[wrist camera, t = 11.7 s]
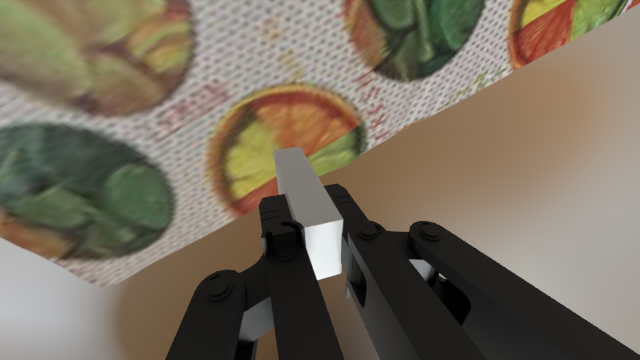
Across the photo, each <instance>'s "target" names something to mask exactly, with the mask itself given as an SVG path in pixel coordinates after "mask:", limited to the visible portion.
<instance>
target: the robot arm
mask: <svg viewBox="0 0 640 360" xmlns="http://www.w3.org/2000/svg"><path fill="white" fill-rule="evenodd" d="M273 154H274V161H275V169H276V176H277V184H278V191H279V195H276V196H270V197H265V198H262V200H261V202H260V204H259V211H260V218H261V226H262V236H261V240H262V245H263V250H264V252H263V255H262V257H261V258H260V260H259V261H258V262H257V263H256V264H254V265H253V266H251V267H250V268H248V269H246V270H245V271H243V272H241V273H238V272H236V271H235V270H222V271H217V272H215V273H213V274H211V275H209V276H208V277H206V278H205V279H204V280H203V281H202V282H201V283H200V284H199V286H198V287H197V289H196V290H195V292H194V294H193V297H192V299H191V302H190V304H189V306H188V308H187V310H186V313H185V315H184V317H183V320H182V322H181V324H180V327H179V329H178V331H177V334H176V336H175V338H174V341H173V343H172V345H171V348H170V350H169V352H168V354H167V357H166V359H165V360H255V358H256V351H257V345H258V338H259V337H260V336H262V335H263V334H264V333H266V332H267V331H269V330H270V329H271V328H273V327H275V334H276V342H277V349H278V356H279V360H344V357H343V354H342V351H341V349H340V346H339V343H338V340H337V337H336V334H335V331H334V328H333V325H332V322H331V319H330V316H329V313H328V310H327V308H326V304H325V302H324V299H323V296H322V293H321V290H320V287H319V284H318V281H317V280H319V279H322V278H326V277H330V276H333V275H337V274H341V268H342V265H343V268H344V270H345V272H346V288H345V294H346V298H349V292H350V293H351V296H352V298H353V300H354V302H355V305H356V307H357V309H358V311H359V313H360V316H361V318H362V320H363V322H364V324H365V327H366V329H367V331H368V333H369V336H370V338H371V340H372V342H373V345H374V347H375V349H376V351H377V354H378V356H379V358H380V360H640V355H639V354H637V353H636V352H634V351H633V350H631V349H630V348H628V347H627V346H625V345H623V344H622V343H620V342H619V341H617V340H616V339H614V338H613V337H611V336H610V335H608V334H607V333H605V332H603V331H602V330H600V329H599V328H597V327H596V326H594V325H593V324H591V323H589V322H588V321H587V320H585V319H583V318H582V317H580V316H579V315H577V314H576V313H574V312H573V311H571V310H570V309H568V308H567V307H565V306H563V305H562V304H560V303H559V302H557V301H556V300H554V299H553V298H551V297H550V296H548V295H546V294H545V293H543V292H542V291H540V290H539V289H537V288H535V287H534V286H533V285H531V284H530V283H528V282H526V281H525V280H523V279H522V278H520V277H519V276H517V275H516V274H514V273H513V272H511V271H510V270H508V269H507V268H505V267H503V266H502V265H500V264H499V263H497V262H496V261H494V260H493V259H491V258H490V257H488V256H486V255H485V254H483V253H482V252H480V251H479V250H477V249H476V248H474V247H473V246H471V245H469V244H468V243H466V242H465V241H463V240H462V239H460V238H459V237H457V236H456V235H454V234H453V233H451V232H450V231H448V230H446V229H445V228H443V227H442V226H440V225H438V224H436V223H432V222H428V221H418V222H415V223H413V224H412V225H411V226H410V230H409V232H393V231H386V230H385V229H384V228H383V227H382V226H381V225H380V224H378V223H376V222H373V221H369V220H368V219H367V217H366V216H365V215H364V213H363V212H362V211H361V209H360V208H359V206H358V205H357V204H356V203H355V202H354V200H353V198H352V197H351V196H350V194H349V193H348V191H347V190H346V189H345V188H344V187H342V186H340V185H339V184H333V185H327V186H323V185H322V183H321V181H320V180H319V178H318V176H317V175H316V173H315V171H314V170H313V168H312V166H311V164H310V163H309V161H308V159H307V158H306V156H305V154H304V153H303V151H302V149H301V148H300V147H294V148H287V149H279V150H273ZM439 273H440V274H442V275H443V276H444V277H445V278H446V279H443V278H442V277H440V276H439Z"/></svg>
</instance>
